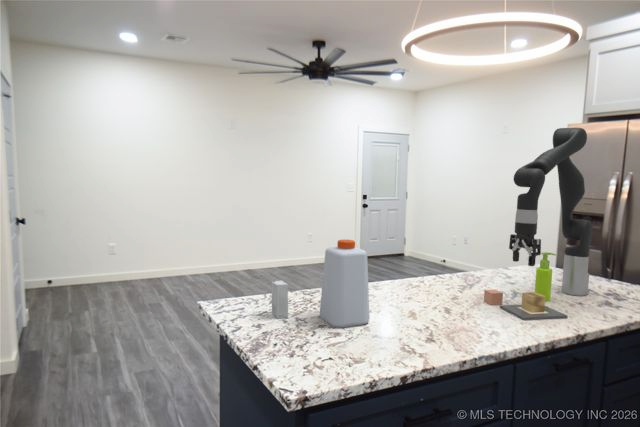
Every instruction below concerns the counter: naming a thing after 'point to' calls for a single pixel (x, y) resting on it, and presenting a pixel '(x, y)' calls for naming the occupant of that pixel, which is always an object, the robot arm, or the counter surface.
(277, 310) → the skincare box
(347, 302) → the plastic bottle
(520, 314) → the grey flat slab
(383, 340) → the counter surface
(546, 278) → the soap dispenser
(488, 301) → the terracotta block
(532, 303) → the ochre block
